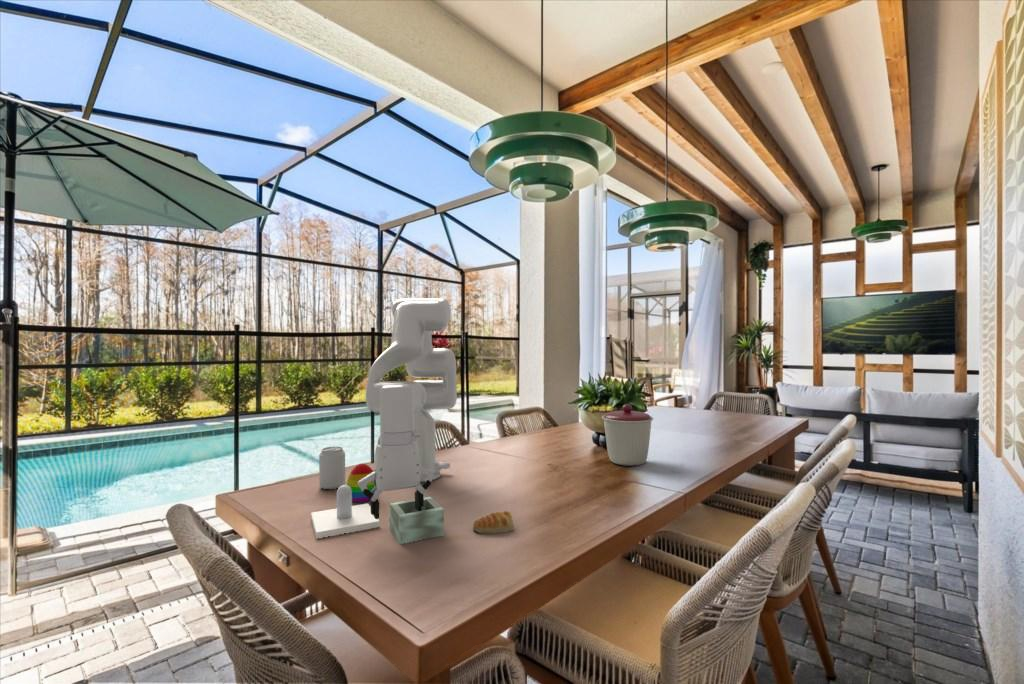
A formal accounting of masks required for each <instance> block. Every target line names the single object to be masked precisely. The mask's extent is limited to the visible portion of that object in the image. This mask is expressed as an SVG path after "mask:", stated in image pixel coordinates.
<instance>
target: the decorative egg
mask: <svg viewBox="0 0 1024 684" xmlns="http://www.w3.org/2000/svg"><path fill="white" fill-rule="evenodd" d="M372 472H373V469H372V468H371V467H370V466H369V465H368V464H366V463H359V464H357V465H356V466H354V468H353V469H352V470H351V471H350V473H349V475H348V477H347V482H346V485H348V486H349V487H350V488H351V490H352V502H355V503H364V502H363V501H365V502H369V501H371V500H370V499H369V498H368V497H367V496H366V495H364V493H363V492H362V490H361V488H360V487H359V485H358V481H359V480H361V479H363V478H364V477H366V476H367V475H369V474H370V473H372ZM366 487H367V488H368V489H369V490H370V491H372V490H373V489H374V487H375V486H374V484H373V480H372V481H371V482H369V483H367V485H366ZM368 500H369V501H368Z"/></svg>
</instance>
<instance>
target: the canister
mask: <svg viewBox="0 0 1024 684" xmlns="http://www.w3.org/2000/svg"><path fill="white" fill-rule="evenodd" d="M621 409H622V410H613V411H609V412H606V413H605V414H603V415H602V416H601V419H603V424H604V425H603V426H604V432H605V433H604V434H605V442H606V450H607V451H606V452H607V455H608V458H609V461H610V462H611V463H614V464H616V465H618V466H619V465H620V466H626V467H627V466H628V467H633V466H635V467H636V466H640V465H643V464H644V463H646V461H647V459H648V455H649V449H650V448H649V447H650V439H651V429H652V421H654V417H653V416H651V415H650V414H649V413H645V412H642V411H635V410H633V407H632V405H631V404H630V403H629V404H623V405H622V407H621Z"/></svg>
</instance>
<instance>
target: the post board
mask: <svg viewBox="0 0 1024 684" xmlns="http://www.w3.org/2000/svg"><path fill="white" fill-rule="evenodd" d="M336 490H337V491H336V508H331V509H325V510H320V511H312V512H310V516H311V517H310V519H311V523H312V527H313V530H314V534H315V539H316V540H318V538H319V539H323V537H325V538H329V537H328V536H330V537H335V536H339V535H340V534H341V535H345V534H344V533H346V534H351V533H356V531H357V532H361V531H367V530H371V529H372V528H373V529H377V527H378V528H380V520H379V518H378V519H375V517H374V516H373V515H371V504H369V502H367V503H363V504H356V505H353V503H352V502H353V501H352V490H351V488H350V487H349V486H348V485H347V484H344V485H342V486H340V487H339V488H338V489H336ZM373 529H372V530H373ZM350 532H351V533H350Z"/></svg>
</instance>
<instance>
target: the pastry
mask: <svg viewBox="0 0 1024 684" xmlns="http://www.w3.org/2000/svg"><path fill="white" fill-rule="evenodd" d="M514 523H515V522H514V520H513V518H512V514H511V512H510V511H506V510H504V511H503V512H501V511H498V512H497V511H496V512H491V513H489V514H487V515H485V516H483V517H482V516H481V517H480V518H479V519H477V520H475V521H474V523H473V526H472V529H473V530H474V531H475V532H477V533H479V534H493V535H495V534H499V533H500V534H501V533H508V532H512V531H513V530H514V529H515V524H514Z"/></svg>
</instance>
